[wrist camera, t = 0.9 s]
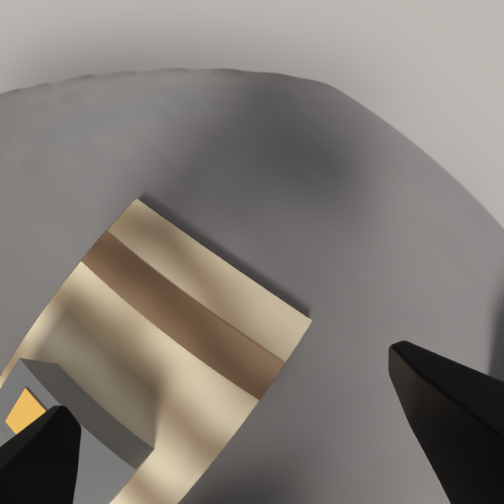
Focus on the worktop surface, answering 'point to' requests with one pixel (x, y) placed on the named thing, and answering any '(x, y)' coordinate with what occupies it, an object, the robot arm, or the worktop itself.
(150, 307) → the board
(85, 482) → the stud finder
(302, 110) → the worktop surface
